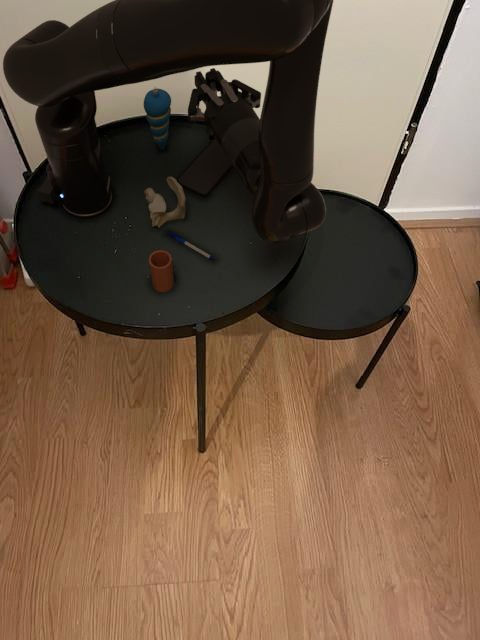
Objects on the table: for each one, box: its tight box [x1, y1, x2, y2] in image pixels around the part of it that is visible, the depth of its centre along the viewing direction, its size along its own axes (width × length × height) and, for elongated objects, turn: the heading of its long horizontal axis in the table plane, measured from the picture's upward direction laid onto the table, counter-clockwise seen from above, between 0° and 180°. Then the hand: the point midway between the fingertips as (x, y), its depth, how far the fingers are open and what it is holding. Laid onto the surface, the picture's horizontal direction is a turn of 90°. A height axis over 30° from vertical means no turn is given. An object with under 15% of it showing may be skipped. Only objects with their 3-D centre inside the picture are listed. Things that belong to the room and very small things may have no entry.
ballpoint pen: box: [166, 230, 215, 261], centre depth 101 cm, size 10×1×1 cm, turn 57°
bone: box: [143, 176, 187, 228], centre depth 101 cm, size 9×6×10 cm
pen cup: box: [148, 249, 175, 293], centre depth 94 cm, size 4×4×7 cm
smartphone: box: [176, 137, 234, 198], centre depth 111 cm, size 7×1×15 cm
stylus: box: [204, 70, 218, 141], centre depth 99 cm, size 2×2×14 cm
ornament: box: [143, 87, 172, 151], centre depth 107 cm, size 5×5×15 cm
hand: (205, 74), depth 96 cm, fingers closed on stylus, 2 cm apart
